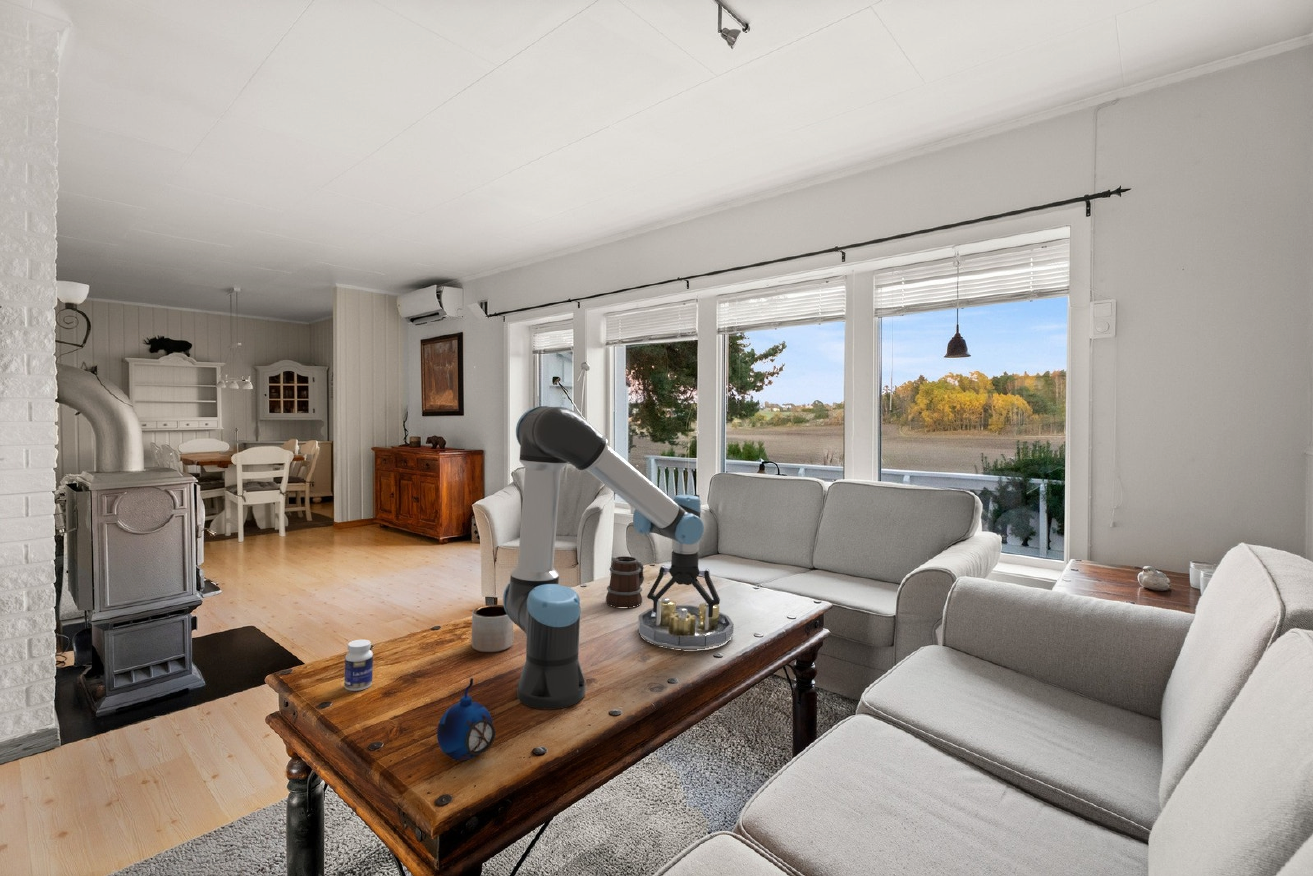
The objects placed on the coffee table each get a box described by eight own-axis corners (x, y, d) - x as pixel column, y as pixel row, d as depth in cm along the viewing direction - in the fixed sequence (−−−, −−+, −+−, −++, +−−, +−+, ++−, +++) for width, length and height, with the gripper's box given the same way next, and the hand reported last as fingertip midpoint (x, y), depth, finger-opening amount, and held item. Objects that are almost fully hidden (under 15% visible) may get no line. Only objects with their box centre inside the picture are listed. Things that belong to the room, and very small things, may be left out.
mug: (627, 611, 199) (629, 565, 198) (598, 603, 206) (600, 558, 205) (655, 600, 212) (657, 556, 211) (628, 593, 219) (629, 551, 218)
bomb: (457, 781, 106) (459, 695, 105) (426, 755, 113) (428, 675, 113) (506, 758, 113) (508, 678, 113) (473, 736, 121) (475, 660, 120)
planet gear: (679, 644, 168) (680, 622, 168) (663, 635, 174) (664, 614, 174) (699, 639, 172) (700, 618, 172) (683, 631, 178) (684, 610, 178)
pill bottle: (353, 694, 136) (354, 649, 135) (339, 687, 139) (339, 643, 138) (377, 685, 141) (378, 642, 140) (362, 678, 144) (363, 636, 143)
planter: (521, 646, 166) (522, 611, 166) (485, 657, 158) (486, 620, 158) (498, 635, 174) (499, 601, 173) (463, 645, 166) (464, 610, 165)
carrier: (676, 658, 162) (677, 623, 161) (621, 627, 184) (622, 595, 183) (751, 639, 177) (752, 607, 177) (692, 612, 199) (693, 583, 199)
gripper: (730, 551, 174) (727, 625, 175) (643, 544, 178) (641, 617, 179) (729, 557, 166) (726, 635, 167) (638, 550, 170) (636, 626, 171)
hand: (682, 626), depth 173 cm, fingers open, 13 cm apart
